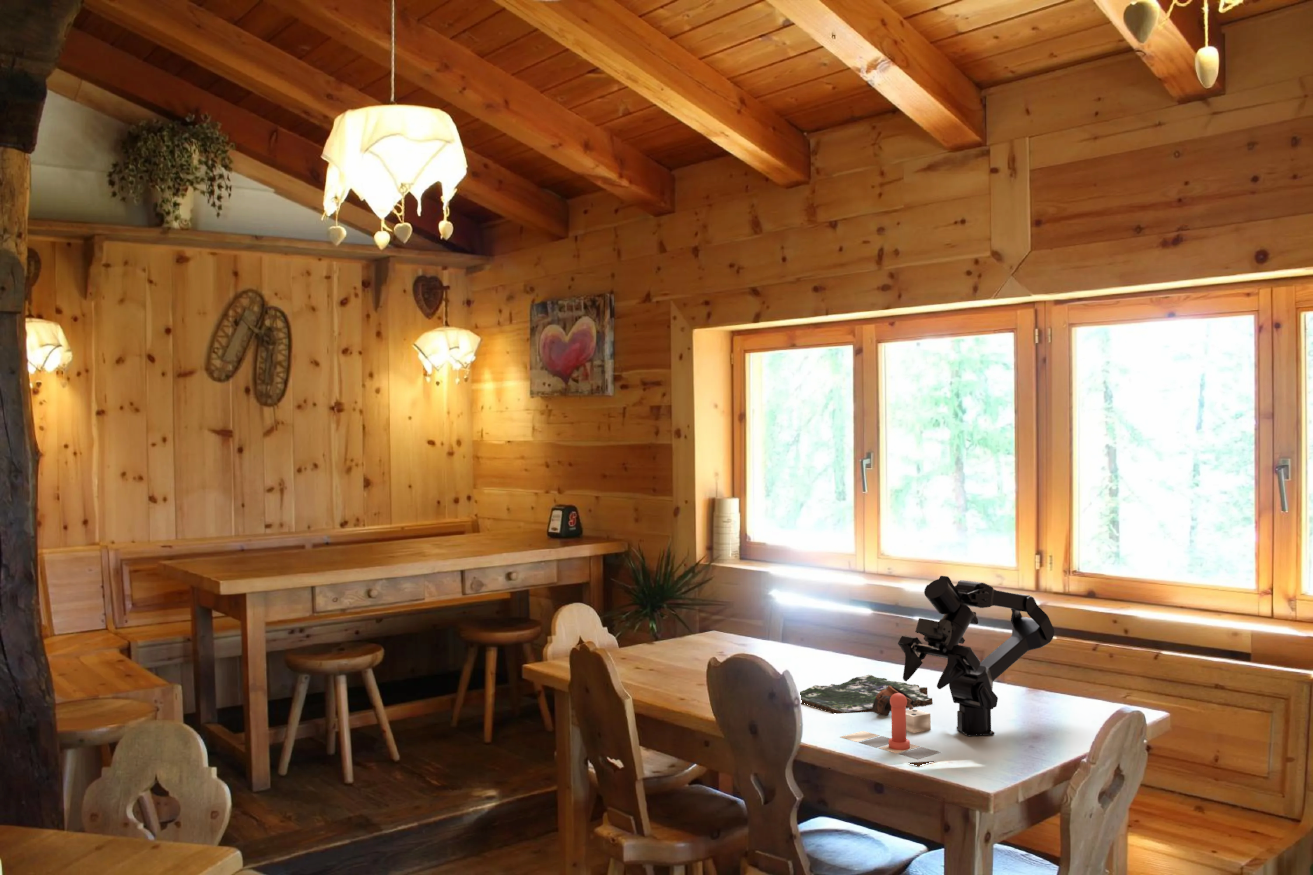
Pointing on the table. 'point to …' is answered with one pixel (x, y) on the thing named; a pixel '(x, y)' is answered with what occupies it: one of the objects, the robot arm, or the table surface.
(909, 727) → the die
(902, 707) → the pawn
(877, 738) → the game board
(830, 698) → the topographical map
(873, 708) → the pottery mug
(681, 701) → the table surface
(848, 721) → the table surface
